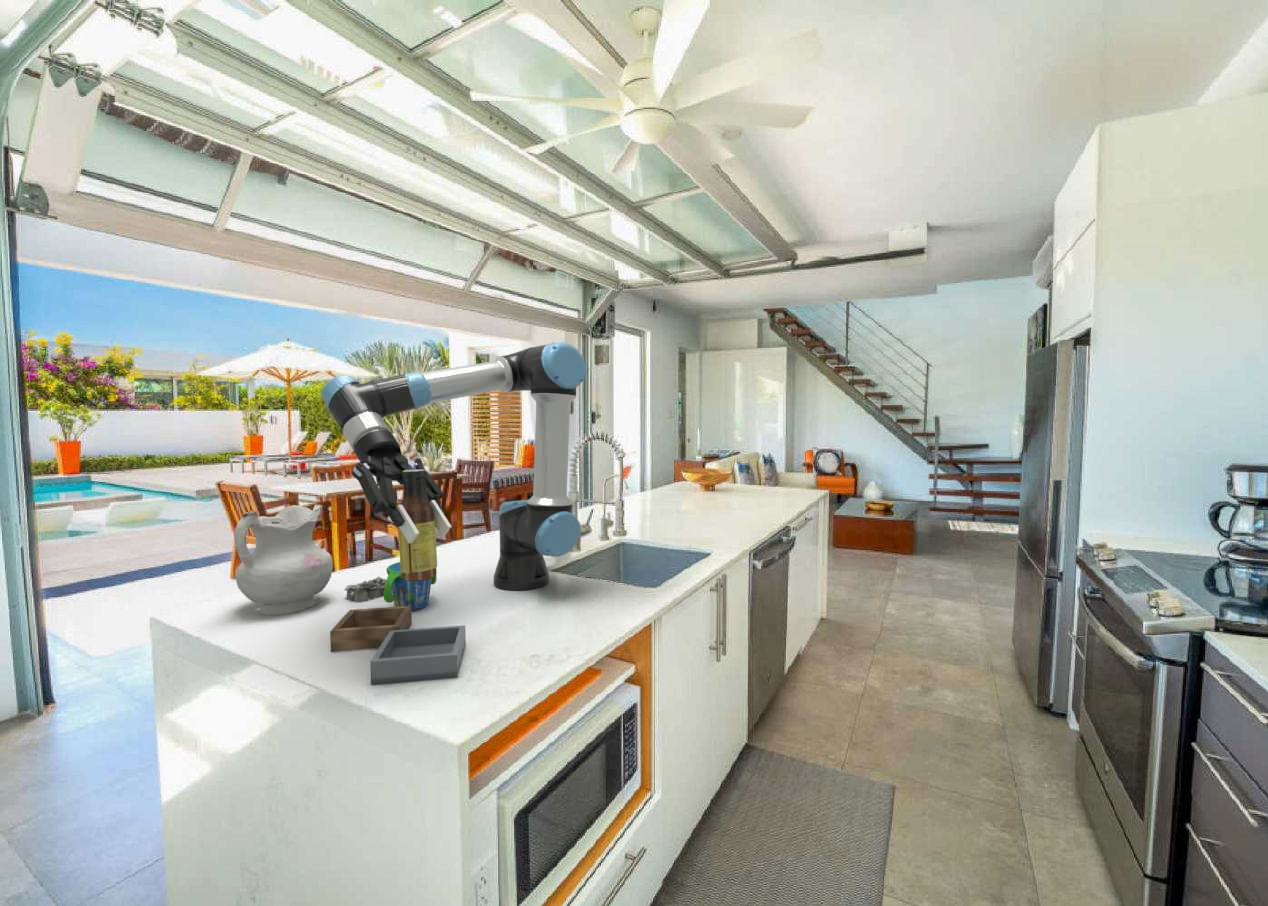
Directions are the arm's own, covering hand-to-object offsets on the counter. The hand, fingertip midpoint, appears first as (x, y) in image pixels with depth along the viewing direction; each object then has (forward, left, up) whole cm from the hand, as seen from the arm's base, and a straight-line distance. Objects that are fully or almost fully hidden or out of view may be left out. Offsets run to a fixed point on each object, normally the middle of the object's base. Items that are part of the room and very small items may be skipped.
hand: (430, 534), depth 96 cm
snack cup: (+10, -35, -25) cm, 44 cm away
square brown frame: (+14, -17, -24) cm, 33 cm away
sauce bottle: (+3, -3, -9) cm, 9 cm away
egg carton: (+23, -46, -25) cm, 57 cm away
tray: (+2, -2, -24) cm, 25 cm away
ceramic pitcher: (+40, -40, -25) cm, 61 cm away
